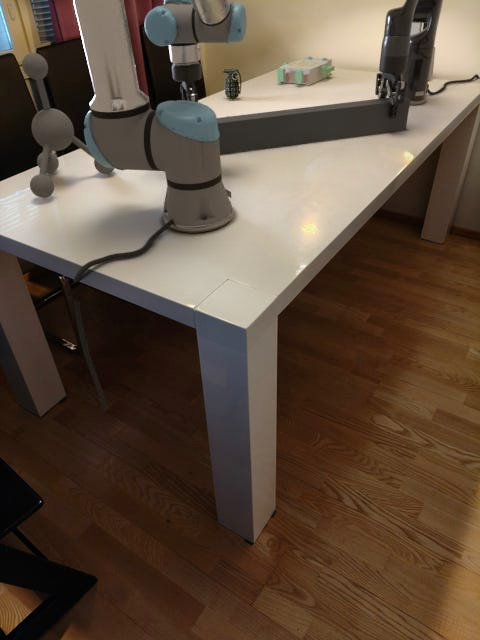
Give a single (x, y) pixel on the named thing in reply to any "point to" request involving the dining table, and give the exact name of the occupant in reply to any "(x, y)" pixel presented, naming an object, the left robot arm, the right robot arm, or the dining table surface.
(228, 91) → the grenade
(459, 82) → the right robot arm
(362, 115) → the bar
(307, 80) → the decorative block
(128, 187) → the dining table surface
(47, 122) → the molecular model
